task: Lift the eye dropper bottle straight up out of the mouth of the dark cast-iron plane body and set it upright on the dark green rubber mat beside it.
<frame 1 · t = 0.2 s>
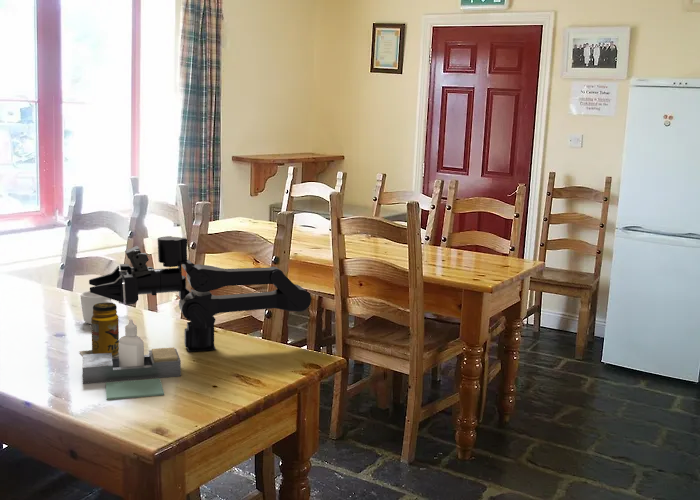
hand: (89, 285, 167), 17 cm above the table, tool horizontal, fingers open, 9 cm apart
condiment: (101, 355, 171), on the table
cup: (100, 323, 197), on the table
mat: (134, 389, 149), on the table
eye dropper bottle: (131, 374, 159), resting in plane body
plane body: (131, 373, 159), on the table
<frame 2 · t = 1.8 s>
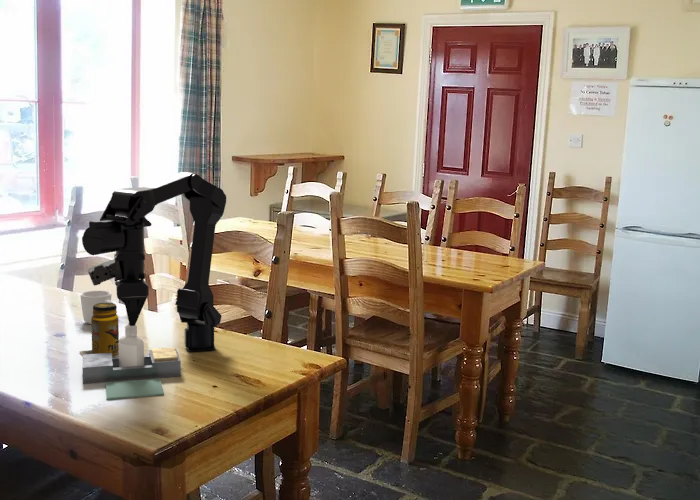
hand: (131, 320, 157), 12 cm above the table, tool pointing down, fingers open, 9 cm apart
nothing on the table moved.
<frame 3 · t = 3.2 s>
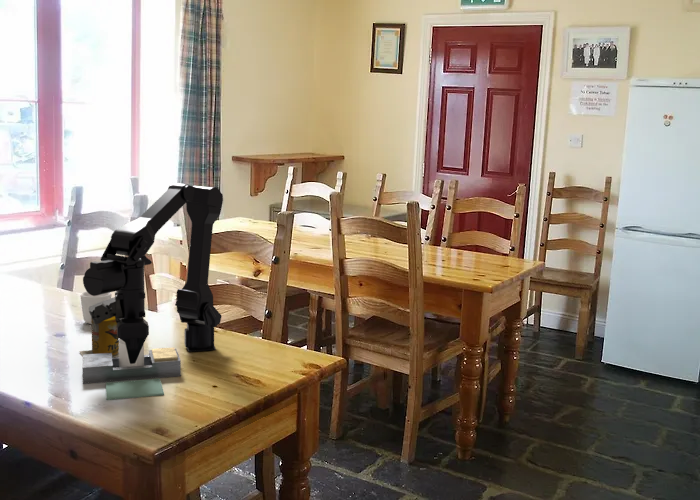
hand: (131, 357, 158), 4 cm above the table, tool pointing down, fingers closed on eye dropper bottle, 8 cm apart
eye dropper bottle: (131, 373, 159), resting in plane body, touching gripper
everything else where it was.
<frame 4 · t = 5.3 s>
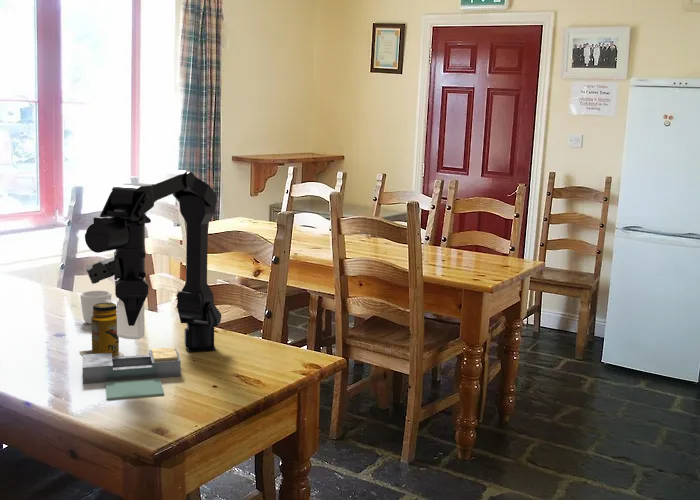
hand: (130, 320, 151), 13 cm above the table, tool pointing down, fingers closed on eye dropper bottle, 8 cm apart
eye dropper bottle: (130, 337, 152), point 10 cm above the table, touching gripper
everything else where it was.
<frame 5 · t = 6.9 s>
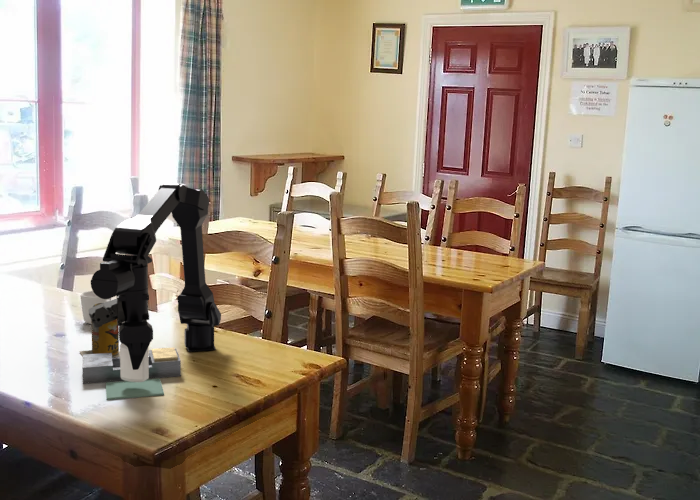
hand: (134, 362, 148), 6 cm above the table, tool pointing down, fingers closed on eye dropper bottle, 8 cm apart
eye dropper bottle: (134, 380, 149), point 2 cm above the table, touching gripper
everything else where it was.
when the fingers open (5 cm above the table, at t = 7.8 s): eye dropper bottle stays where it is, resting on mat.
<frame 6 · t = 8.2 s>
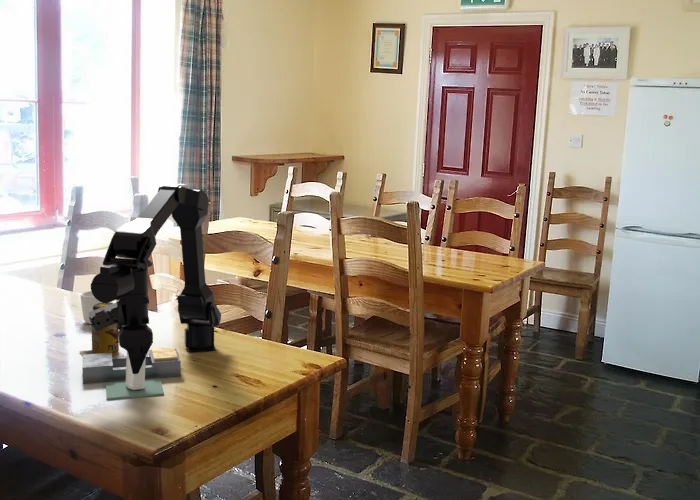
hand: (134, 366, 148), 5 cm above the table, tool pointing down, fingers open, 9 cm apart
eye dropper bottle: (134, 387, 149), resting on mat
everything else where it was.
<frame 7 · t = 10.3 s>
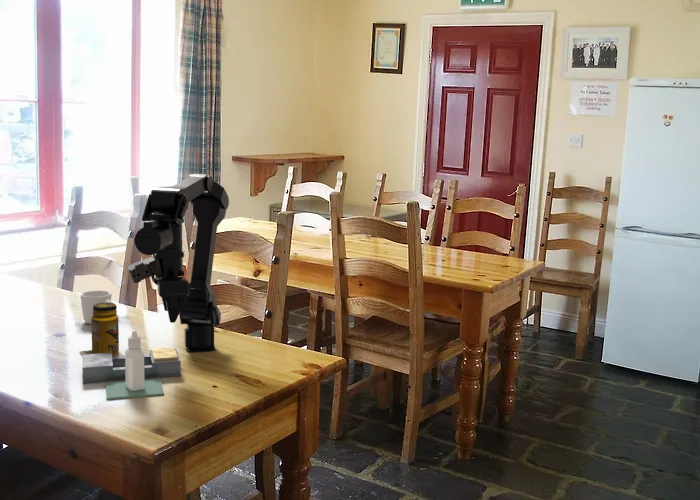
hand: (169, 316, 159), 13 cm above the table, tool pointing down, fingers open, 9 cm apart
nothing on the table moved.
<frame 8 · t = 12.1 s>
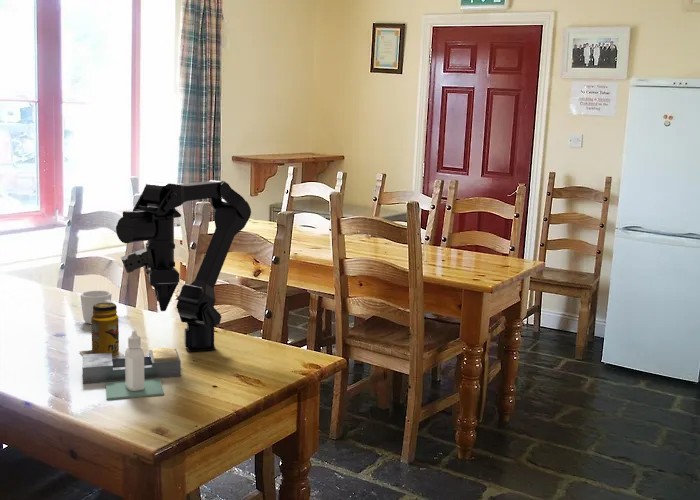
hand: (161, 306, 166), 13 cm above the table, tool pointing down, fingers open, 9 cm apart
nothing on the table moved.
at the end: eye dropper bottle 0.3 cm off-centre on the mat, point 0.2 cm above the mat's base; eye dropper bottle tilted 0°; the gripper is holding nothing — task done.
